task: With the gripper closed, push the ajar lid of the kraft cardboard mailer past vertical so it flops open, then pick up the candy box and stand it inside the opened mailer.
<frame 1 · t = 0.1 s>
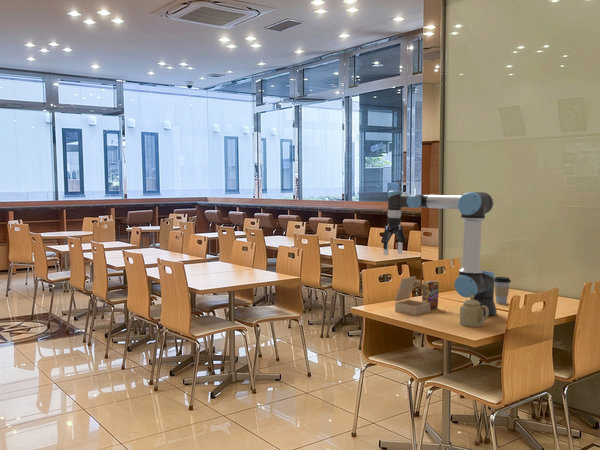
hand: (392, 254, 327), 28 cm above the table, fingers open, 13 cm apart
mailer: (412, 311, 305), on the table
candy box: (429, 308, 314), on the table
lid: (405, 288, 308), point 12 cm above the table, hinge at 72.0°
coffee cup: (501, 303, 333), on the table
grey round pot: (475, 325, 276), on the table
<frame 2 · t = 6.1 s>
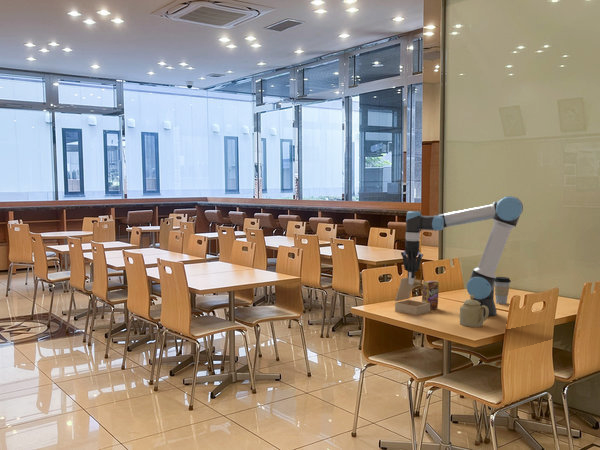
hand: (410, 283, 305), 15 cm above the table, fingers closed
lid: (405, 288, 308), point 12 cm above the table, hinge at 72.6°, touching gripper
everything else where it was.
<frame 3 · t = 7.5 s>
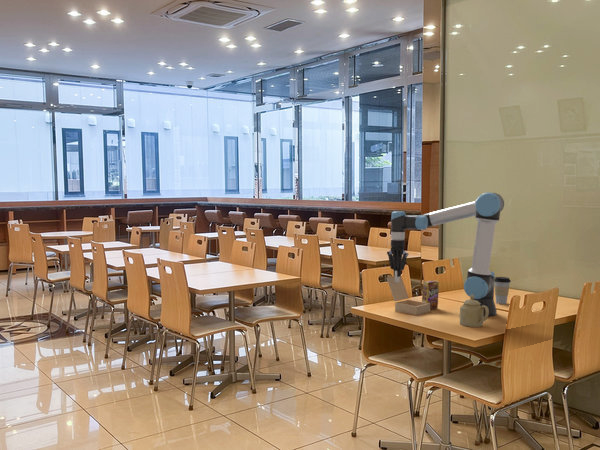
hand: (396, 282, 311), 14 cm above the table, fingers closed
lid: (397, 288, 311), point 11 cm above the table, hinge at 115.4°, touching gripper
everything else where it was.
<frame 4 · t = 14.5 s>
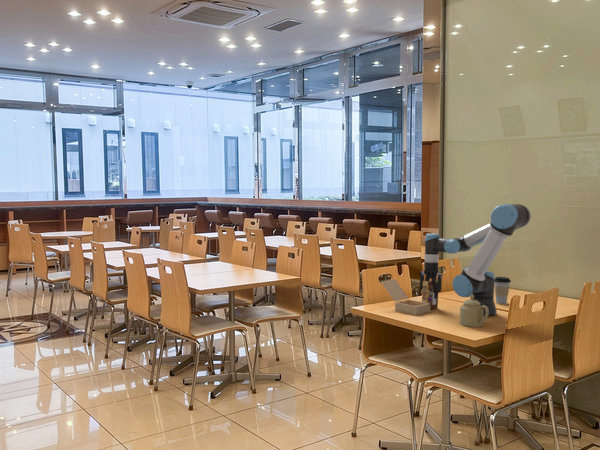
hand: (429, 303, 313), 3 cm above the table, fingers closed on candy box, 5 cm apart
candy box: (429, 308, 314), on the table, touching gripper
lid: (394, 290, 313), point 10 cm above the table, hinge at 135.0°
everything else where it was.
when the fingers open (5 cm above the table, at t = 20.6 s): candy box drops 2 cm, resting on mailer.
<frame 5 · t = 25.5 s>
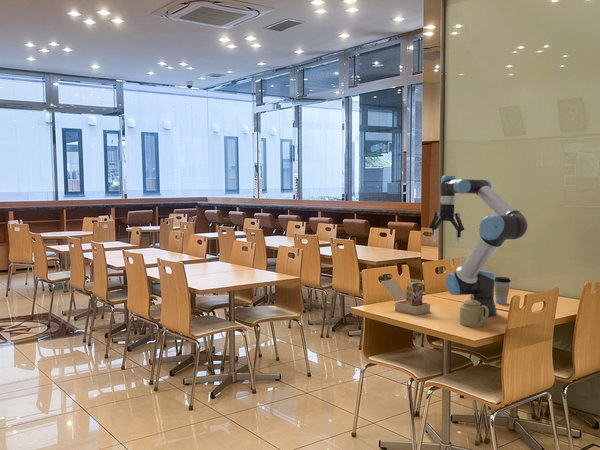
hand: (445, 242, 312), 37 cm above the table, fingers open, 13 cm apart
candy box: (413, 310, 304), resting on mailer
everything else where it was.
at the end: lid at +135° (first picture: +72°); candy box inside the target area on the mailer (0.8 cm from its centre), point 0.4 cm above the mailer's base; candy box tilted 0° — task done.
